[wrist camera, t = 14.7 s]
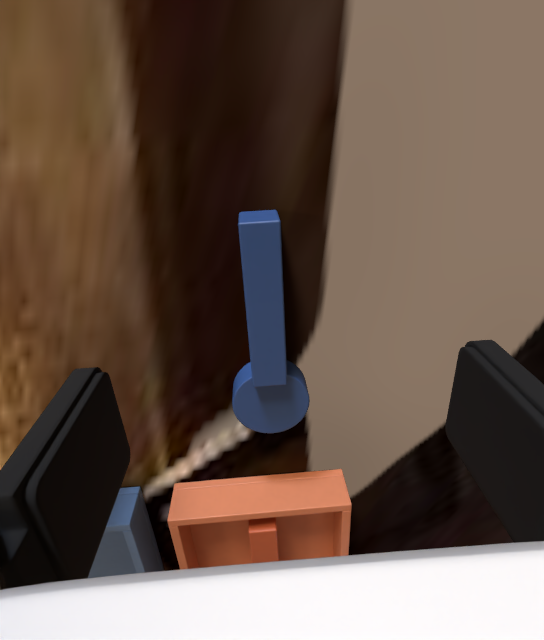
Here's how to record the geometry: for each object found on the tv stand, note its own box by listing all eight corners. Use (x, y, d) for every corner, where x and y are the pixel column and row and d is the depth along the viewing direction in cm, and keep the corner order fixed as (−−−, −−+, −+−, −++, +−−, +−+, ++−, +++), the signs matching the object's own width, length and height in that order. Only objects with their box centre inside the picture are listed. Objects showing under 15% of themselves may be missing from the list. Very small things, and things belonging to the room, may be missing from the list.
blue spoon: (212, 213, 16) (208, 224, 15) (302, 207, 16) (310, 218, 15) (236, 418, 21) (235, 445, 20) (306, 412, 22) (311, 438, 20)
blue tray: (-33, 500, 23) (-63, 541, 21) (140, 485, 23) (129, 524, 21) (43, 628, 29) (26, 670, 27) (178, 615, 30) (172, 655, 27)
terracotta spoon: (229, 503, 24) (228, 534, 22) (292, 497, 24) (296, 528, 22) (245, 605, 29) (245, 637, 27) (296, 600, 29) (300, 631, 27)
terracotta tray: (174, 482, 23) (167, 521, 21) (341, 468, 24) (351, 504, 21) (204, 612, 30) (201, 652, 27) (336, 600, 30) (343, 638, 28)
